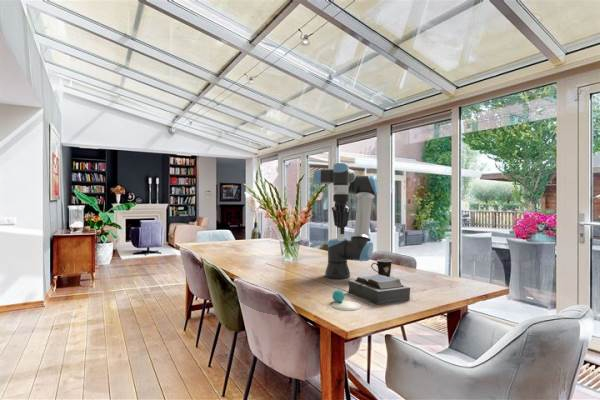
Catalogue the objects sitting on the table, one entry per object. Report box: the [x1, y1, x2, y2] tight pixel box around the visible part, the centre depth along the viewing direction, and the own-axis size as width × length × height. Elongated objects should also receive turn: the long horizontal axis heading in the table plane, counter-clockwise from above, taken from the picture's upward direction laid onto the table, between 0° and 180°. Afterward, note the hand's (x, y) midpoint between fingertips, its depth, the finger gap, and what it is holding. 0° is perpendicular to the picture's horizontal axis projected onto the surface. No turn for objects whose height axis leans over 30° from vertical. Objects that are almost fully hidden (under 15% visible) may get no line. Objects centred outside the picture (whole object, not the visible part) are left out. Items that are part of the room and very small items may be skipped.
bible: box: [348, 273, 411, 306], centre depth 171 cm, size 23×27×10 cm
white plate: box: [331, 300, 362, 312], centre depth 155 cm, size 13×13×1 cm
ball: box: [332, 289, 346, 302], centre depth 161 cm, size 6×6×6 cm
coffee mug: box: [371, 258, 392, 277], centre depth 211 cm, size 12×9×10 cm
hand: (340, 240), depth 177 cm, fingers closed
